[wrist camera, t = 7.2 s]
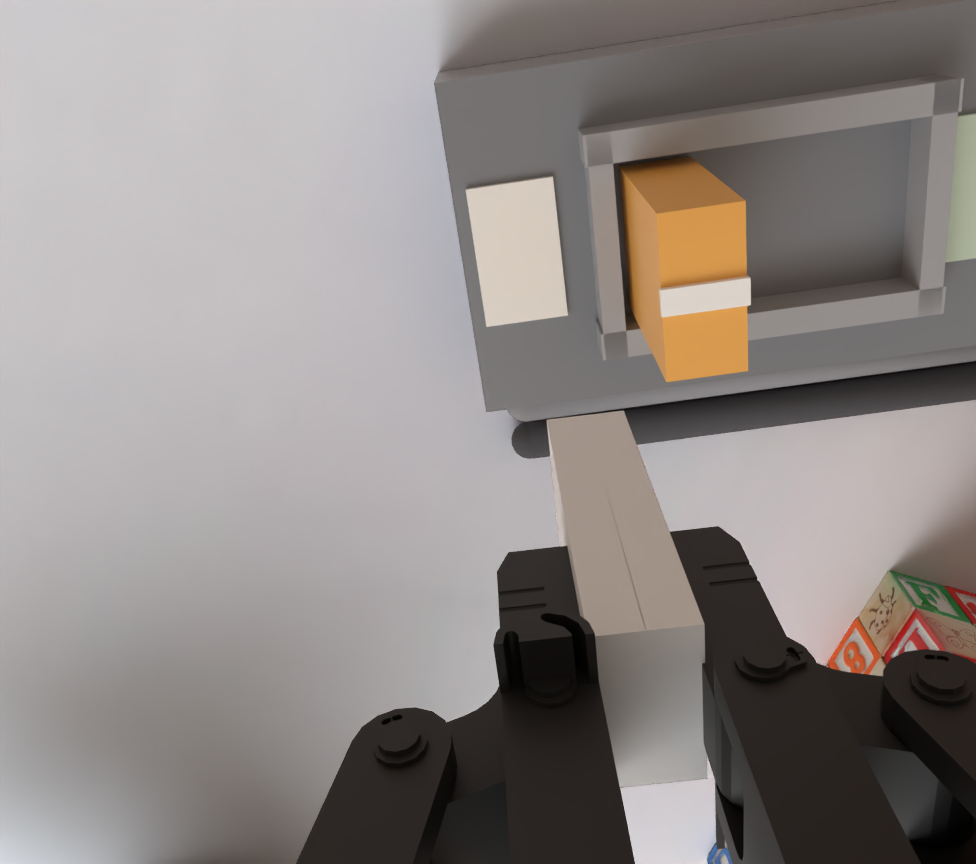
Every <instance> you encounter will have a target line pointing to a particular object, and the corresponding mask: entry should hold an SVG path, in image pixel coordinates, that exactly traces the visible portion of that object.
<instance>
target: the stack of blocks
mask: <svg viewBox="0 0 976 864" xmlns="http://www.w3.org/2000/svg"><path fill="white" fill-rule="evenodd" d="M921 649H929V650H938V651H947V652H949V653H952V654H955V655H958V656H961V657H964V658H967V659H969V660H971V661H972V662H974V663H975V664H976V594H973V593H969V592H966V591H962V590H958V589H955V588H951V587H948V586H941V585H937V584H934V583H930V582H927V581H924V580H920V579H917V578H913V577H910V576H906V575H903V574H899V573H896V572H893V571H888V572H887V573H886V575H885V576H884V578H883V579H882V581H881V582H880V584H879V586H878V587H877V589H876V590H875V592H874V593H873V595H872V597H871V598H870V600H869V601H868V603H867V604H866V606H865V607H864V609H863V611H862V612H861V614H860V615H859V617H858V618H856V619H855V620H854V622H853V623H852V625H851V627H850V628H849V630H848V631H847V633H846V634H845V636H844V638H843V639H842V641H841V642H840V644H839V646H838V647H837V649H836V650H835V652H834V653H833V655H832V656H831V658H830V660H829V662H828V664H827V665H826V667H828V668H831V669H835V670H841V671H846V672H852V673H860V674H868V675H877V676H883V670H884V668H885V667H886V665H887V664H888V662H889V661H890V659H892V658H894V657H896V656H898V655H900V654H901V653H903V652H906V651H914V650H921ZM707 862H708V864H732V860H731V857H730V854H729V851H728V847H727V844H726V841H725V849H717V844H715V846H714V847H713V849H712V851H711V852H710V854H709V856H708V858H707Z"/></svg>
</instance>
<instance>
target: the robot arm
mask: <svg viewBox="0 0 976 864" xmlns="http://www.w3.org/2000/svg"><path fill="white" fill-rule="evenodd" d="M547 429H548V439H549V448H550V458H551V468H552V478H553V488H554V497H555V507H556V517H557V527H558V537H559V543H560V547H552V548H543V549H534V550H525V551H517V552H508V554H507V556H506V557H505V559H504V561H503V562H502V564H501V566H500V568H499V569H498V571H497V579H498V594H499V596H498V598H499V616H500V629H499V630H498V631H497V633H496V637H495V641H494V652H495V658H496V665H497V672H498V679H499V685H500V686H499V688H498V690H497V692H496V693H495V694H494V695H493V697H492V698H491V699H490V700H489V701H488V702H487V703H486V704H484V705H483V706H482V707H480V708H479V709H477V710H476V711H474V712H471V713H469V714H467V715H465V716H463V717H460V718H458V719H455V720H452V721H450V722H447V723H446V721H445V720H444V719H442V718H441V717H439V716H438V715H437V714H435V713H434V712H432V711H428V710H424V709H419V708H404V709H395V710H392V711H390V712H387V713H384V714H381V715H379V716H377V717H375V718H374V719H373V720H371V721H370V722H368V723H367V724H366V725H364V726H363V727H362V728H361V729H360V731H359V732H358V734H357V735H356V736H355V738H354V739H353V741H352V742H351V745H350V747H349V749H348V751H347V753H346V756H345V758H344V760H343V762H342V764H341V767H340V769H339V771H338V773H337V775H336V778H335V780H334V782H333V784H332V786H331V788H330V791H329V793H328V795H327V797H326V799H325V802H324V804H323V806H322V808H321V810H320V813H319V815H318V817H317V819H316V821H315V824H314V826H313V828H312V830H311V832H310V835H309V837H308V839H307V841H306V843H305V845H304V848H303V850H302V852H301V854H300V856H299V859H298V861H297V863H296V864H635V862H634V857H633V852H632V847H631V841H630V836H629V831H628V826H627V821H626V816H625V811H624V806H623V801H622V796H621V791H620V788H622V787H632V786H641V785H651V784H661V783H670V782H680V781H689V780H699V779H707V756H708V759H709V762H710V765H711V768H712V771H713V775H714V778H715V799H716V844H717V849H725V841H726V844H727V847H728V851H729V854H730V857H731V860H732V864H976V664H975V663H974V662H972V661H971V660H969V659H967V658H964V657H961V656H958V655H955V654H952V653H949V652H947V651H938V650H929V649H921V650H914V651H906V652H903V653H901V654H900V655H898V656H896V657H894V658H892V659H890V661H889V662H888V664H887V665H886V667H885V668H884V670H883V676H877V675H868V674H860V673H852V672H846V671H841V670H835V669H831V668H828V667H826V666H823V665H820V664H817V663H816V661H815V659H814V657H813V656H812V655H811V654H810V653H809V652H808V650H807V649H806V648H805V647H804V646H802V645H801V644H799V643H797V642H795V641H794V640H792V639H790V638H788V637H786V635H785V633H784V631H783V629H782V627H781V625H780V623H779V621H778V619H777V617H776V615H775V613H774V611H773V609H772V607H771V605H770V602H769V600H768V598H767V596H766V594H765V592H764V590H763V588H762V586H761V584H760V582H759V581H757V576H756V574H755V572H754V570H753V568H752V566H751V565H749V560H748V558H747V556H746V554H745V552H744V550H743V548H742V546H741V544H740V542H739V541H737V540H736V539H735V538H733V537H732V536H731V535H729V534H728V533H727V532H725V531H724V530H723V529H721V528H720V527H718V526H717V527H709V528H700V529H691V530H682V531H674V532H669V529H668V527H667V524H666V521H665V519H664V516H663V513H662V511H661V508H660V505H659V503H658V500H657V497H656V495H655V492H654V490H653V487H652V484H651V482H650V479H649V476H648V474H647V471H646V468H645V466H644V463H643V460H642V458H641V455H640V453H639V450H638V447H637V445H636V442H635V439H634V437H633V434H632V431H631V429H630V426H629V424H628V421H627V418H626V416H625V413H624V411H616V412H607V413H599V414H590V415H582V416H573V417H565V418H557V419H548V420H547Z"/></svg>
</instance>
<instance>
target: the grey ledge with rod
mask: <svg viewBox="0 0 976 864" xmlns="http://www.w3.org/2000/svg"><path fill="white" fill-rule="evenodd" d="M971 361H974V362H971ZM963 362H967V363H963ZM956 363H960V364H956ZM948 364H952V365H948ZM941 365H945V366H941ZM934 366H937V367H934ZM926 367H930V368H926ZM919 368H922V369H919ZM911 369H915V370H911ZM904 370H908V371H904ZM897 371H900V372H897ZM889 372H893V373H889ZM882 373H885V374H882ZM874 374H878V375H874ZM867 375H871V376H867ZM860 376H863V377H860ZM852 377H856V378H852ZM845 378H848V379H845ZM837 379H841V380H837ZM830 380H834V381H830ZM822 381H826V382H822ZM815 382H819V383H815ZM808 383H811V384H808ZM800 384H804V385H800ZM793 385H796V386H793ZM785 386H789V387H785ZM778 387H782V388H778ZM771 388H774V389H771ZM763 389H767V390H763ZM756 390H759V391H756ZM748 391H752V392H748ZM741 392H745V393H741ZM734 393H737V394H734ZM726 394H730V395H726ZM719 395H722V396H719ZM711 396H715V397H711ZM704 397H708V398H704ZM697 398H700V399H697ZM689 399H693V400H689ZM682 400H685V401H682ZM969 400H976V346H970V347H962V348H955V349H948V350H940V351H933V352H926V353H918V354H911V355H903V356H896V357H889V358H881V359H874V360H867V361H859V362H852V363H844V364H837V365H830V366H822V367H815V368H808V369H800V370H793V371H786V372H778V373H771V374H763V375H756V376H749V377H741V378H734V379H727V380H719V381H712V382H705V383H697V384H690V385H682V386H675V387H668V388H660V389H653V390H646V391H638V392H631V393H624V394H616V395H609V396H601V397H594V398H587V399H579V400H572V401H565V402H557V403H550V404H542V405H535V406H528V407H520V408H513V409H507V410H508V412H509V413H510V415H511V416H512V417H513V418H515V419H517V420H519V421H530V422H525V423H522V424H520V425H519V426H518V427H517V428H516V429H515V430H514V432H513V435H512V446H513V448H514V450H515V451H516V453H517V454H519V455H520V456H522V457H524V458H529V459H530V458H540V457H547V456H550V448H549V439H548V429H547V420H548V418H552V419H557V418H556V417H559V418H565V417H563V416H567V417H573V416H571V415H574V416H582V415H590V414H599V413H607V412H616V411H624V413H625V416H626V418H627V421H628V424H629V426H630V429H631V431H632V434H633V437H634V439H635V442H636V445H638V444H645V443H653V442H660V441H668V440H675V439H683V438H690V437H698V436H706V435H713V434H721V433H728V432H736V431H743V430H751V429H758V428H766V427H773V426H781V425H788V424H796V423H803V422H811V421H818V420H826V419H834V418H841V417H849V416H856V415H864V414H871V413H879V412H886V411H894V410H901V409H909V408H916V407H924V406H931V405H939V404H946V403H954V402H962V401H969ZM674 401H678V402H674ZM667 402H670V403H667ZM659 403H663V404H659ZM652 404H656V405H652ZM645 405H648V406H645ZM637 406H641V407H637ZM630 407H633V408H630ZM622 408H626V409H622ZM615 409H619V410H615ZM608 410H611V411H608ZM600 411H604V412H600ZM593 412H596V413H593ZM585 413H589V414H585ZM578 414H582V415H578ZM541 419H544V420H541ZM533 420H537V421H533Z"/></svg>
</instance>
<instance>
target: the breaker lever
mask: <svg viewBox="0 0 976 864" xmlns="http://www.w3.org/2000/svg"><path fill="white" fill-rule="evenodd" d="M619 175H620V188H621V201H622V214H623V227H624V240H625V254H626V267H627V280H628V293H629V306H630V308H631V310H632V312H633V314H634V316H635V318H636V320H637V323H638V325H639V327H640V329H641V331H642V333H643V335H644V337H645V339H646V341H647V343H648V345H649V347H650V349H651V351H652V354H653V356H654V358H655V360H656V362H657V364H658V366H659V368H660V370H661V372H662V374H663V376H664V378H665V380H666V382H672V381H679V380H686V379H694V378H701V377H709V376H716V375H723V374H731V373H738V372H745V371H748V322H747V306H749V305H751V278H750V277H749V276H747V254H746V201H745V200H744V199H743V198H742V197H740V196H739V195H738V194H737V193H735V192H734V191H733V190H732V189H730V188H729V187H728V186H727V185H725V184H724V183H723V182H722V181H720V180H719V179H718V178H717V177H715V176H714V175H713V174H712V173H710V172H709V171H708V170H707V169H705V168H704V167H703V166H702V165H700V164H699V163H698V162H697V161H695V160H694V159H693V158H692V157H690V156H686V157H679V158H673V159H666V160H659V161H652V162H646V163H639V164H632V165H625V166H619Z"/></svg>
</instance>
